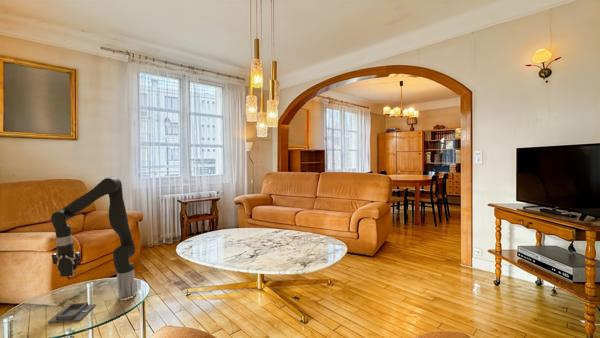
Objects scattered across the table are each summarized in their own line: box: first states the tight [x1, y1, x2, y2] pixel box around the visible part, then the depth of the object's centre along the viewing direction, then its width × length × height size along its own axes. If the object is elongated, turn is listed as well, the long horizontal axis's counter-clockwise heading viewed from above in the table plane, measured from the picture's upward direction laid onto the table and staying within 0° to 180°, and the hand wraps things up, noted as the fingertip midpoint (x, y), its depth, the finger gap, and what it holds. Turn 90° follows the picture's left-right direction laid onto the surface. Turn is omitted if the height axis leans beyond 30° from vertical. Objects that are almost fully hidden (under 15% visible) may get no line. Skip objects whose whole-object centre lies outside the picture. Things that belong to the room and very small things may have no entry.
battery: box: [58, 257, 76, 278], centre depth 167 cm, size 7×4×11 cm, turn 97°
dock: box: [47, 301, 97, 324], centre depth 158 cm, size 16×14×3 cm
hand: (67, 269), depth 168 cm, fingers closed on battery, 7 cm apart
